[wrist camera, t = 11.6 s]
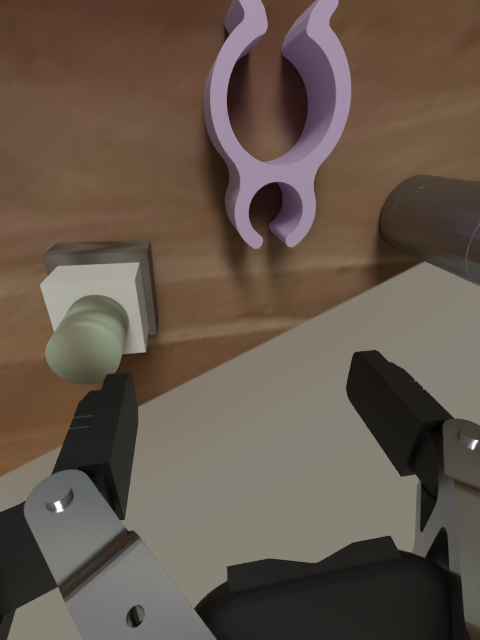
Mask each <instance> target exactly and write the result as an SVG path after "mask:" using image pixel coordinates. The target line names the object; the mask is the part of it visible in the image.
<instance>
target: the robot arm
mask: <svg viewBox="0 0 480 640" xmlns="http://www.w3.org/2000/svg"><path fill="white" fill-rule="evenodd" d="M380 226H381V232H382V235H383V237H384V238H385V240H386V241H387V242H388V243H389V244H390V245H392V246H394V247H396V248H398V249H400V250H402V251H404V252H407V253H409V254H411V255H413V256H415V257H417V258H419V259H421V260H424V261H426V262H428V263H430V264H432V265H435V266H437V267H439V268H441V269H443V270H445V271H448V272H450V273H452V274H454V275H456V276H459V277H461V278H463V279H465V280H467V281H469V282H472V283H474V284H476V285H478V286H480V181H471V180H463V179H455V178H448V177H439V176H431V175H418V176H414V177H411V178H409V179H407V180H405V181H404V182H402V183H401V184H400V185H398V186H397V187H396V188H395V189H394V190H393V192H392V193H391V194H390V196H389V197H388V199H387V201H386V202H385V204H384V207H383V210H382V213H381V219H380ZM346 390H347V395H348V398H349V400H350V402H351V403H352V405H353V406H354V408H355V409H356V411H357V412H358V414H359V415H360V417H361V418H362V420H363V421H364V423H365V424H366V426H367V427H368V428H369V430H370V431H371V433H372V434H373V436H374V437H375V439H376V440H377V442H378V443H379V445H380V446H381V448H382V449H383V451H384V452H385V454H386V455H387V457H388V458H389V459H390V461H391V462H392V464H393V465H394V467H395V468H396V470H397V471H398V473H399V474H400V476H401V477H402V476H408V475H415V474H416V475H417V477H418V478H419V482H418V485H417V498H416V499H417V500H416V525H415V543H414V548H413V552H412V553H410V552H406V551H402V550H398V549H397V547H396V545H395V543H394V542H393V540H392V538H391V536H386V537H380V538H375V539H369V540H365V541H359V542H354V543H351V544H349V545H348V546H346V547H344V548H343V549H341V550H339V551H337V552H336V553H334V554H332V555H330V556H329V557H327V558H325V559H323V560H322V561H320V562H318V563H306V562H297V561H288V560H279V559H264V560H259V561H254V562H249V563H243V564H239V565H233V566H228V567H227V581H226V582H225V583H223V584H221V585H219V586H218V587H217V588H215V589H214V590H212V591H211V592H210V593H208V594H207V595H206V596H205V597H204V598H203V599H202V600H201V601H200V602H199V603H198V604H197V606H196V607H195V608H194V609H193V607H192V606H191V605H190V604H189V602H188V601H187V599H186V598H185V597H184V595H183V594H182V593H181V591H180V590H179V589H178V587H177V586H176V585H175V583H174V582H173V580H172V579H171V578H170V576H169V575H168V574H167V572H166V571H165V570H164V568H163V567H162V566H161V565H160V563H159V562H158V560H157V559H156V558H155V556H154V555H153V554H152V552H151V551H150V550H149V548H148V547H147V546H146V544H145V543H144V542H143V540H142V539H141V538H140V537H139V536H138V534H137V533H135V532H134V531H133V530H132V531H130V532H129V531H128V530H127V529H126V528H125V527H124V525H123V524H122V522H121V521H120V520H124V519H125V514H126V506H127V499H128V492H129V485H130V477H131V471H132V464H133V457H134V450H135V442H136V435H137V428H138V406H137V401H136V395H135V390H134V384H133V379H132V374H131V372H123V373H112V374H107V375H106V376H105V379H104V383H103V386H102V389H101V390H96V391H90V392H89V393H88V394H87V395H86V396H85V397H84V398H83V399H82V400H81V401H80V402H79V404H78V407H77V409H76V412H75V414H74V419H73V420H72V422H71V425H70V430H68V433H67V435H66V438H65V441H64V443H63V446H62V448H61V452H60V454H59V457H58V459H57V461H56V464H55V467H54V469H53V472H52V474H51V476H49V477H47V478H46V479H44V480H43V481H42V482H40V483H39V484H38V485H37V486H36V487H35V488H34V489H33V490H32V492H31V493H30V494H29V496H28V498H27V500H26V501H24V502H22V503H21V504H19V505H16V506H14V507H12V508H9V509H7V510H5V511H2V512H0V640H7V637H8V634H9V631H10V627H11V624H12V621H13V617H14V614H15V610H16V609H17V608H19V607H21V606H23V605H24V604H26V603H28V602H30V601H32V600H34V599H36V598H38V597H40V596H41V595H43V594H45V593H47V592H49V591H51V590H53V589H55V588H56V587H59V589H60V593H61V595H62V597H63V599H64V601H65V603H66V605H67V607H68V609H69V612H70V614H71V616H72V618H73V620H74V622H75V624H76V626H77V629H78V631H79V633H80V635H81V637H82V639H83V640H480V425H478V424H476V423H473V422H471V421H468V420H464V419H454V418H453V417H452V416H451V415H450V414H449V413H448V412H447V411H446V410H445V409H444V408H443V407H442V406H441V405H440V404H439V403H438V402H437V401H436V400H435V399H434V398H433V397H432V396H431V395H430V394H429V393H428V392H427V391H426V390H423V387H422V386H420V384H419V383H418V382H415V380H414V379H413V377H412V376H410V375H409V374H408V373H407V372H406V371H405V370H404V369H402V368H401V367H399V366H397V365H395V364H393V363H392V362H388V361H387V360H386V359H385V358H384V357H383V356H382V355H381V354H380V353H379V352H378V351H376V350H372V351H360V352H355V353H354V354H353V357H352V361H351V366H350V370H349V375H348V380H347V385H346Z"/></svg>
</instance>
